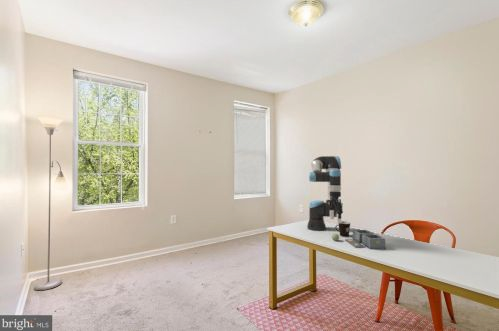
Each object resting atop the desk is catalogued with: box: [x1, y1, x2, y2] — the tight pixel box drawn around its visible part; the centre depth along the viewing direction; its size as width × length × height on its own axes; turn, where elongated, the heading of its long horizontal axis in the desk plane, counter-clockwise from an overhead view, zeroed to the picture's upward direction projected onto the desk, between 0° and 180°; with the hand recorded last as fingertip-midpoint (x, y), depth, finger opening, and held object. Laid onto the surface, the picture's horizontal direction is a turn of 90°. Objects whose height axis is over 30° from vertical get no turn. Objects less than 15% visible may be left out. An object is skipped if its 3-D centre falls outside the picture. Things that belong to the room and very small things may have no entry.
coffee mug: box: [335, 220, 351, 238], centre depth 192 cm, size 12×9×10 cm
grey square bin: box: [352, 229, 375, 244], centre depth 179 cm, size 10×10×6 cm
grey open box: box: [361, 233, 386, 250], centre depth 167 cm, size 10×10×6 cm
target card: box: [344, 238, 366, 249], centre depth 172 cm, size 16×6×1 cm, turn 3°
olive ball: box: [331, 233, 340, 241], centre depth 180 cm, size 5×5×5 cm
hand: (335, 221), depth 179 cm, fingers open, 13 cm apart
